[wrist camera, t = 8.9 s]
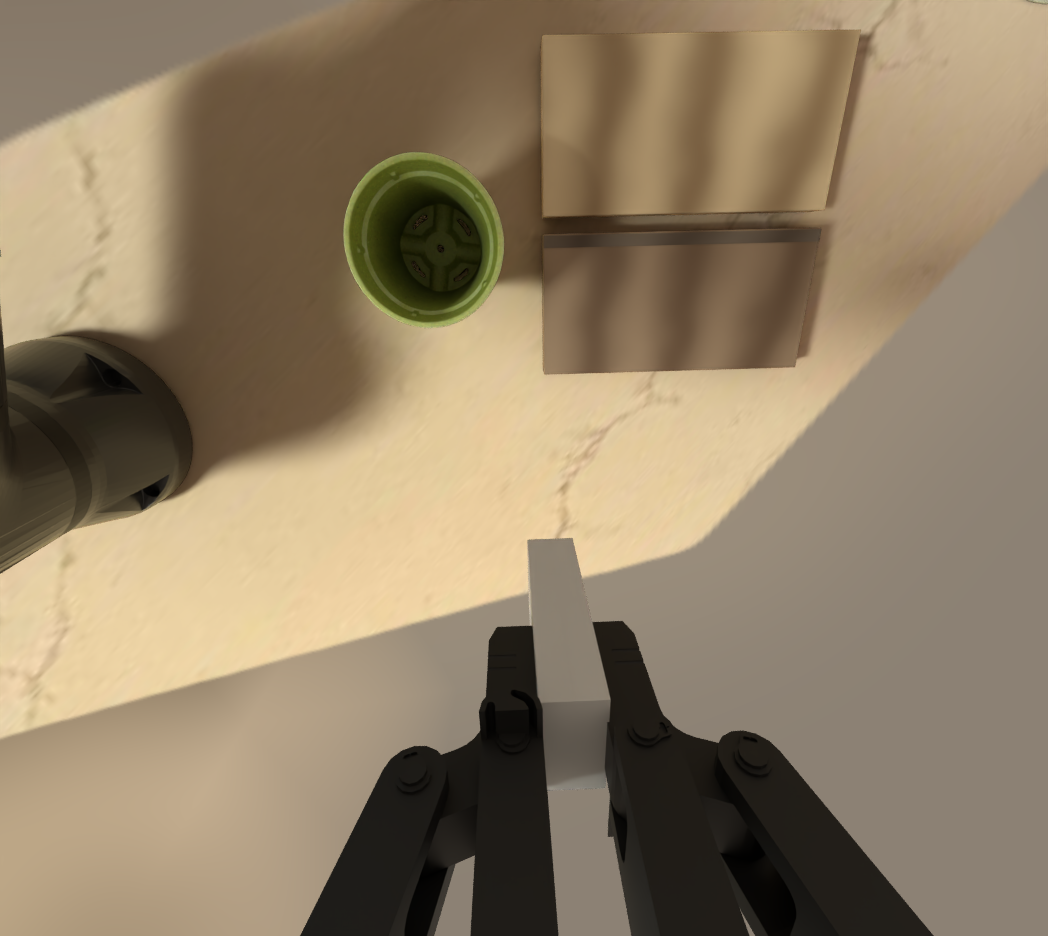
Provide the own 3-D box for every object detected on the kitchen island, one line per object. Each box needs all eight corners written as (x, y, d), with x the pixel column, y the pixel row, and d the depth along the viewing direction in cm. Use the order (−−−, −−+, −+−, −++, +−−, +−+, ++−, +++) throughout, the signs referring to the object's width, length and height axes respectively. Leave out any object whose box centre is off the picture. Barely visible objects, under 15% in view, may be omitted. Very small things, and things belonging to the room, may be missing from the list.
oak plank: (541, 218, 36) (543, 216, 34) (540, 47, 32) (542, 34, 30) (808, 211, 36) (824, 209, 35) (841, 42, 32) (860, 29, 30)
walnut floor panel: (542, 369, 40) (544, 374, 38) (541, 236, 36) (543, 234, 35) (782, 362, 41) (795, 367, 39) (805, 229, 37) (821, 227, 35)
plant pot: (530, 258, 37) (536, 255, 29) (440, 340, 39) (422, 358, 31) (445, 147, 34) (425, 109, 26) (353, 242, 36) (309, 234, 28)
